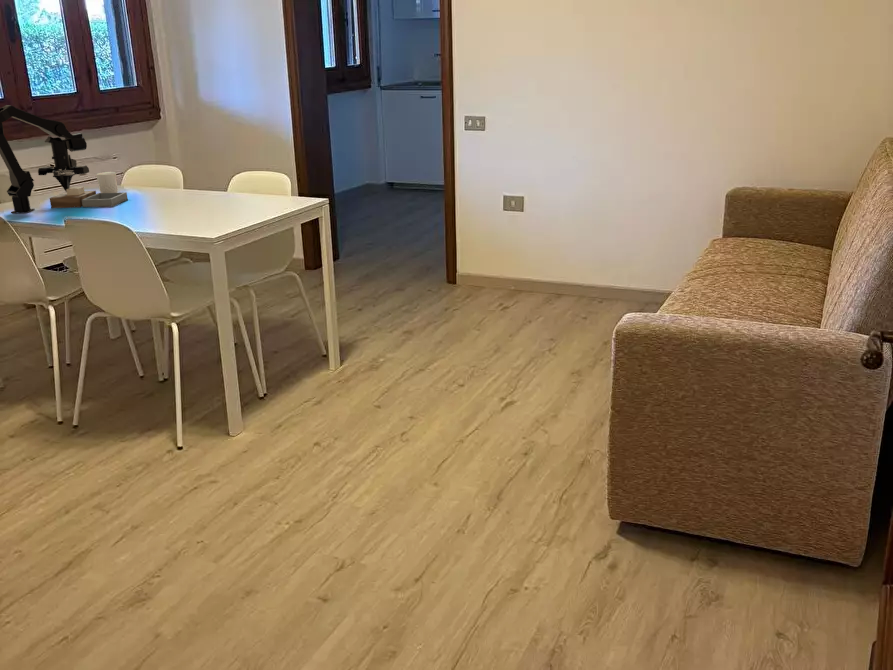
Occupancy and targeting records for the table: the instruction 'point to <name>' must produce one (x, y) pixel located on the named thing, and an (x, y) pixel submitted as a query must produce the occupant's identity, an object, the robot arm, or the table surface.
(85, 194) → the plate
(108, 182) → the white cup
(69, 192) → the tile
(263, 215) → the table surface
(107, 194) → the box
